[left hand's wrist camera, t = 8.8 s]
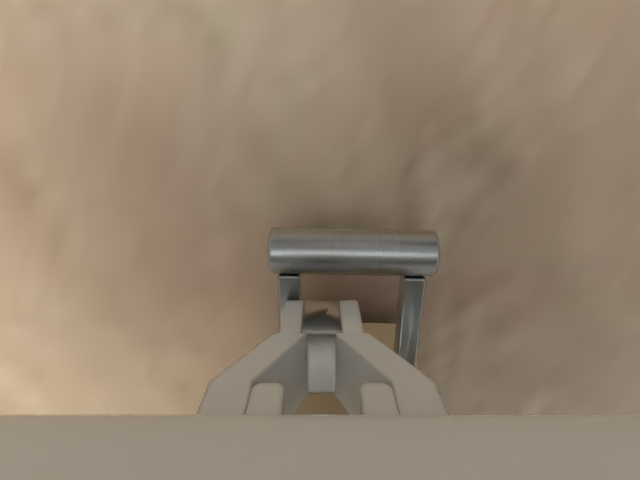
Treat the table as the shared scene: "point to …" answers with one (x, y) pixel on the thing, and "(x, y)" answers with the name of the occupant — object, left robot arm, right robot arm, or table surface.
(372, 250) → the drawer
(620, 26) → the table surface
